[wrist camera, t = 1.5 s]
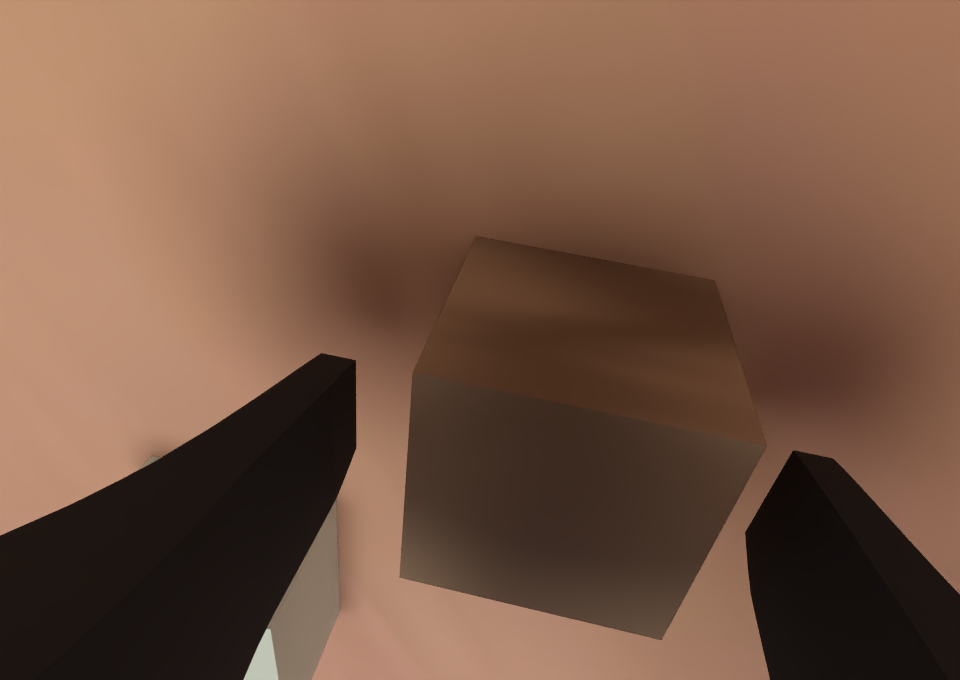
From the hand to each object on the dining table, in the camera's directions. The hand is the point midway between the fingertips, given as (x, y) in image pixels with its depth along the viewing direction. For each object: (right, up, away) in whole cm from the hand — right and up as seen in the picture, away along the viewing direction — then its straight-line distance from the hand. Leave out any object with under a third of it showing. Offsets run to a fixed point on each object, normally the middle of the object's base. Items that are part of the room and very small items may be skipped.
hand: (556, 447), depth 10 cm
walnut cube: (+1, +2, +2) cm, 3 cm away
